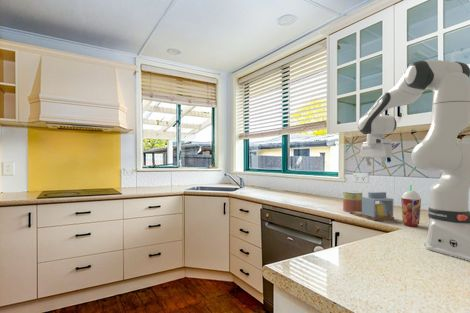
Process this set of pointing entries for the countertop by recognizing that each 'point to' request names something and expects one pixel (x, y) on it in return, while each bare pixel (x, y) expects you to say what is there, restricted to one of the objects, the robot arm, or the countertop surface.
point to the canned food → (352, 201)
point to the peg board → (376, 218)
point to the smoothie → (411, 208)
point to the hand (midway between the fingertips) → (375, 165)
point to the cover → (369, 203)
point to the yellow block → (379, 209)
